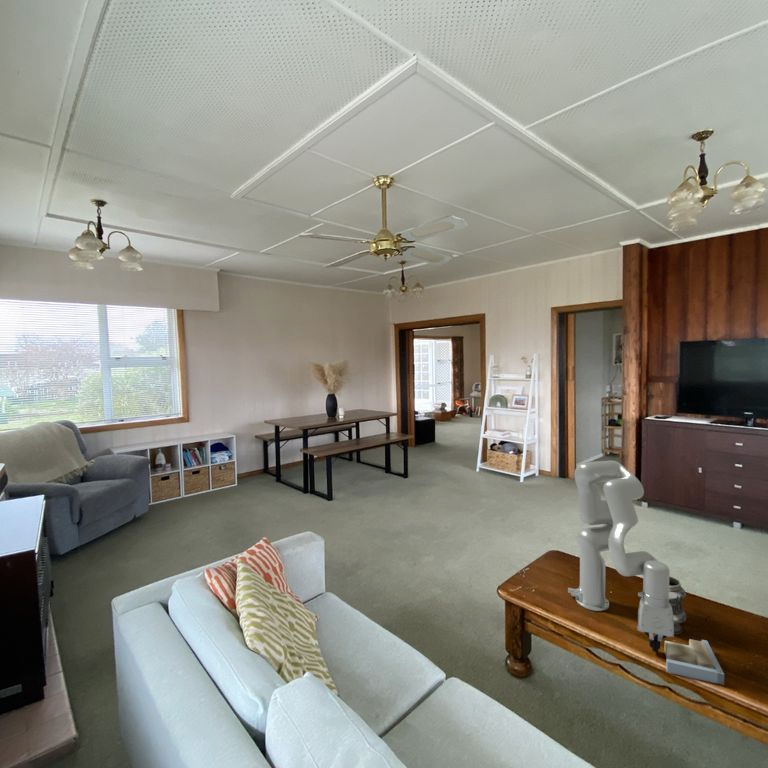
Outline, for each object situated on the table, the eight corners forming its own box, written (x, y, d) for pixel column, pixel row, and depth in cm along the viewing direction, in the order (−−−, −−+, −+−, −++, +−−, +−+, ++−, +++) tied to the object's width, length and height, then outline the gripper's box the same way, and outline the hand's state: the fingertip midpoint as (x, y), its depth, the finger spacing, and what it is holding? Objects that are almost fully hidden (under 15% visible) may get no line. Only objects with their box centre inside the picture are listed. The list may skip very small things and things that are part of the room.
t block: (669, 667, 140) (669, 655, 140) (662, 644, 151) (662, 633, 151) (714, 677, 135) (714, 665, 135) (702, 652, 146) (703, 641, 146)
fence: (667, 672, 138) (667, 661, 137) (656, 640, 153) (656, 630, 153) (724, 685, 132) (724, 674, 132) (706, 650, 147) (707, 640, 147)
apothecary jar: (645, 613, 169) (646, 569, 168) (682, 620, 164) (683, 575, 163) (650, 631, 158) (651, 584, 157) (689, 639, 153) (690, 591, 152)
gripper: (632, 600, 145) (631, 651, 146) (684, 609, 139) (683, 662, 140) (629, 588, 152) (628, 637, 153) (678, 596, 146) (677, 647, 147)
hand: (654, 649), depth 147 cm, fingers closed
